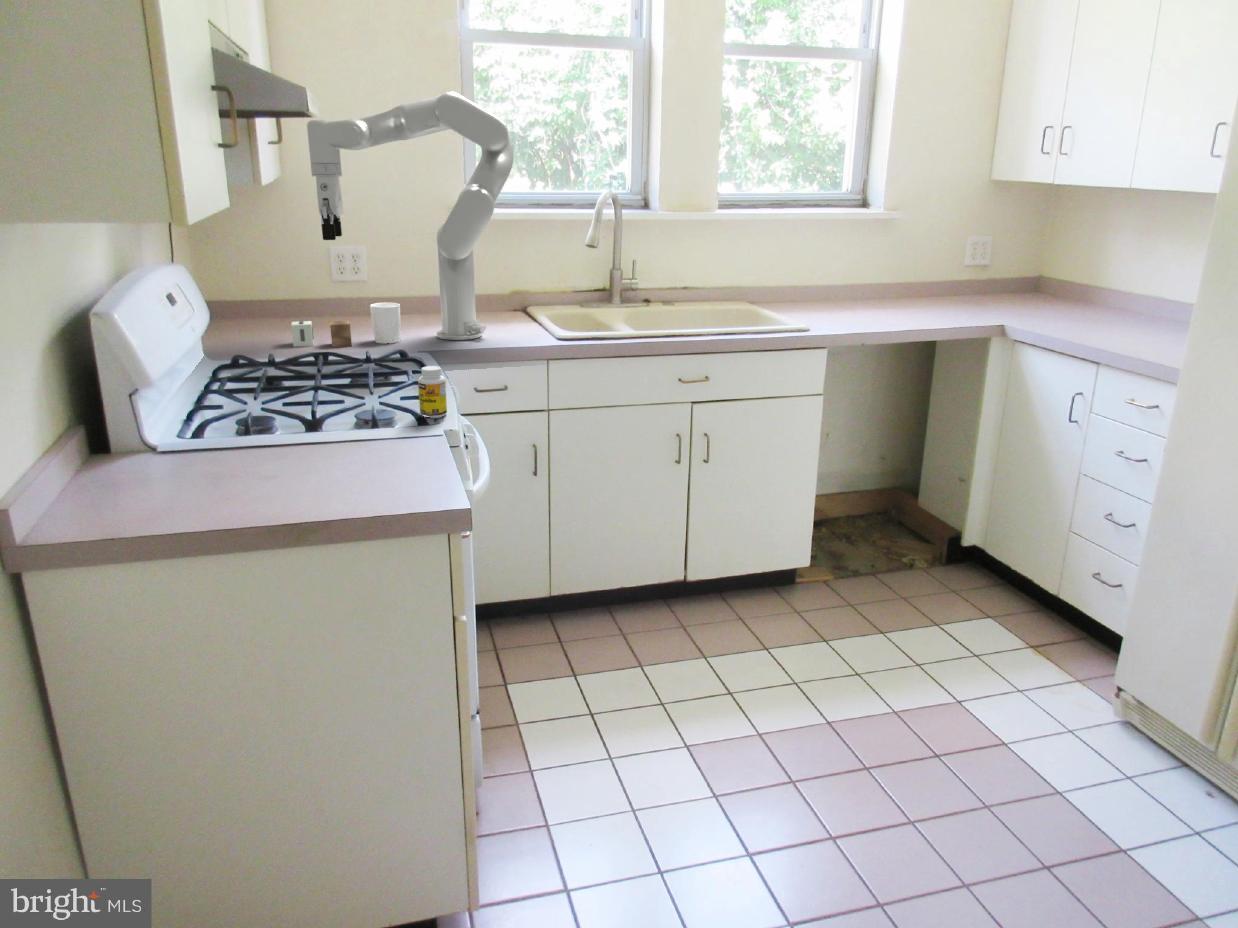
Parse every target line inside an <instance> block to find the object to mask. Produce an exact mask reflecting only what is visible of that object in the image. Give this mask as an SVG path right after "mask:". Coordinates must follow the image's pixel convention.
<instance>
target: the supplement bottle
mask: <svg viewBox="0 0 1238 928" xmlns="http://www.w3.org/2000/svg"><path fill="white" fill-rule="evenodd" d="M417 382H418V383H417V384H418V399H419V402H418V403H419V414H420V413H421V414H422V415H426V416H429V417H431V418H430V419H441V418H443V417H445V416H446V415H447V414H448V409H447V408H448V406H447V405H448V403H447V385H446V377H445V376H443V375H442V368H441V367H440V366H437V365H427V366H423V367H421V376H420V377H419V378H418V380H417ZM446 413H447V414H446ZM421 414H420V415H421ZM445 414H446V415H445ZM444 415H445V416H444ZM442 416H443V417H442Z"/></svg>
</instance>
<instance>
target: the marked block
mask: <svg viewBox="0 0 1238 928" xmlns="http://www.w3.org/2000/svg"><path fill="white" fill-rule="evenodd" d="M312 324H313V323H312V320H307V321H306V320H299V321H291V324H290V325H291V326H290V327H291V334H292V345H293V347H294V348H297V347H311V346H312V347H313V346H314V327H313V325H312Z"/></svg>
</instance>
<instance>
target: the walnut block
mask: <svg viewBox="0 0 1238 928" xmlns="http://www.w3.org/2000/svg"><path fill="white" fill-rule="evenodd" d="M350 322H351V321H350V320H340V321H339V320H336V321H335V320H334V321H330V322H329V326H330V327H329V328H330V336H331V338H330V339H331V347H332V348H342V347H343V348H347V347H353V346H352V344H353V343H352V333H351V323H350Z"/></svg>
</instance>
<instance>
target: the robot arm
mask: <svg viewBox="0 0 1238 928" xmlns="http://www.w3.org/2000/svg"><path fill="white" fill-rule="evenodd" d="M447 130H451V131H454V132H455V133H457V134H459V135H460V136H462V137H464V138H465V139H467V140H469V141H471V142H472V143H475V144H476V145H478V146H479V147H480V149H481V157H480V160H479V162H478V163H477V166H476V167H475V170H474V172H473V173H472V175H471V177H470V178H469V180H468V181H467V184H466V185H465V186H464V188H463V189H462V190H461V192H460V193H459V195H458V197H457V200H456V202H455V204H454V206H453V207H452V209H451V211H450V213H449V215H448V217H447V218H446V220H445V222H444V223H443V224H442V225H441V226H440V227H439V228H438V231H437V233H436V234H437V235H436V245H437V255H438V256H437V258H438V276H439V278H438V279H439V296H440V297H439V298H440V300H439V301H440V313H441V315H440V317H441V329H440V330H437V331H436V337H437V338H439V339H441V340H448V341H465V340H474V339H478V338H480V337H482V336H483V334H484V333H485V331H486V330H487V327H486V325H480V320H479V319H477V314H476V311H477V310H476V290H475V288H476V287H475V267H474V266H475V262H474V248H475V246H476V244H477V242H478V241H479V240H480V238H481V236H482V234H483V233H484V231H485V229H486V227H487V225H488V223H489V222H490V220H491V218H492V216H493V214H494V211H495V202H496V200H497V199H498V197H499V195H500V193H501V191H502V189H503V188H504V185H505V184H506V181H507V180H508V178H509V176H510V173H511V172H512V168H513V163H514V146H513V142H512V140H511V137H510V135H509V128H508V126H507V124H506V123H505V121H503V119H501V118H500V117H499V116H497V115H495V114H493V113H492V112H489V111H488V110H486V109H484V108H483V107H481V106H480V105H478V104H476V103H474V102H472V101H471V100H469V99H467V98H466V97H464V96H463V95H461V94H459V93H457V92H455V91H447V92H443V93H442V94H440V95H435V96H432V97H428V98H424V99H420V100H415V101H412V102H411V101H410V102H407V103H403V104H400V105H397V106H395V107H393V108H391V109H389V110H387V111H384V112H380V113H377V114H373V115H368V116H365V117H361V118H357V119H353V118H350V119H349V118H348V119H341V120H331V119H310V120H309V121H307V124H306V131H307V141H308V149H309V150H308V151H309V152H308V153H309V160H310V171H311V177H315V179H316V181H315V182H316V196H317V206H318V213H319V215H320V216H321V221H320V222H321V232H322V240H323V241H335V240H336V239H337V237H343V236H342V235H343V234H342V233H343V231H342V222H341V216H342V215H343V214H344V211H345V210H344V203H343V196H342V188H341V182H340V178H339V177H342V176H343V174H342V163H341V161H342V160H341V150H342V149H343V150H348V151H361V150H364V149H368V148H373V147H377V146H380V145H384V144H389V143H393V142H398V141H407V140H411V139H415V138H416V139H417V138H418V137H423V136H427V135H431V134H436V133H439V132H444V131H447Z"/></svg>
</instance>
